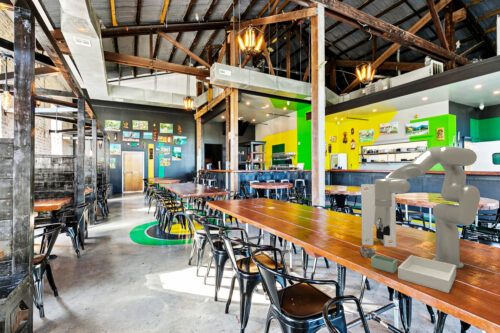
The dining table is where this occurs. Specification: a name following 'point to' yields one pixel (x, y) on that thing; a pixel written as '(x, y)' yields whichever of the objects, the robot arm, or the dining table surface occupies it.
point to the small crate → (384, 263)
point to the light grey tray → (428, 273)
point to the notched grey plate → (369, 216)
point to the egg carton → (367, 252)
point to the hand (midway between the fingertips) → (383, 237)
